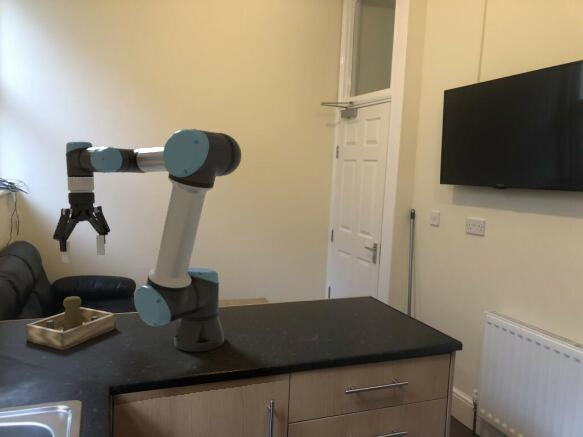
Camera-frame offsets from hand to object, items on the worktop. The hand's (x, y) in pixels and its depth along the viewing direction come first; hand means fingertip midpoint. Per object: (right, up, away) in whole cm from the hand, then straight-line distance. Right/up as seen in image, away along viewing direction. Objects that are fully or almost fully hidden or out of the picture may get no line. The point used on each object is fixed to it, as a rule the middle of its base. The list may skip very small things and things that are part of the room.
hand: (84, 258), depth 140 cm
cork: (-4, -23, 0) cm, 24 cm away
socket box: (-4, -24, +1) cm, 25 cm away
